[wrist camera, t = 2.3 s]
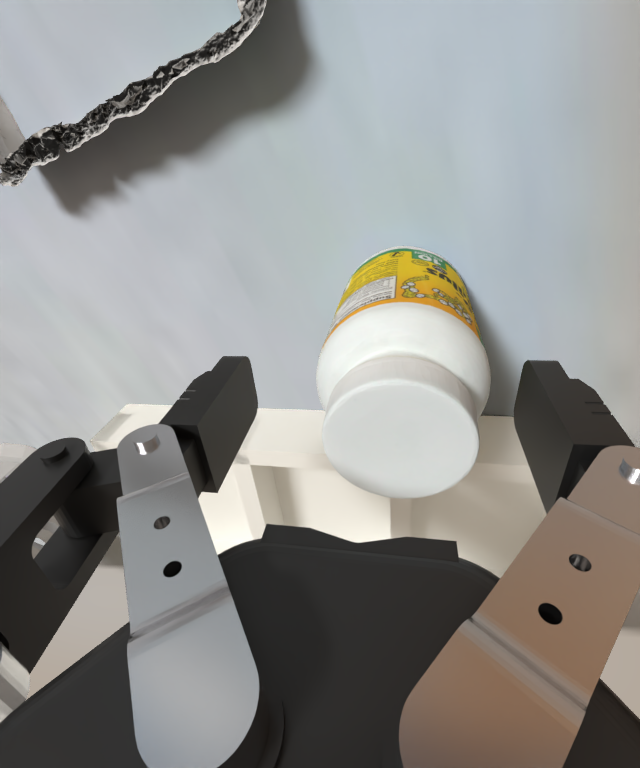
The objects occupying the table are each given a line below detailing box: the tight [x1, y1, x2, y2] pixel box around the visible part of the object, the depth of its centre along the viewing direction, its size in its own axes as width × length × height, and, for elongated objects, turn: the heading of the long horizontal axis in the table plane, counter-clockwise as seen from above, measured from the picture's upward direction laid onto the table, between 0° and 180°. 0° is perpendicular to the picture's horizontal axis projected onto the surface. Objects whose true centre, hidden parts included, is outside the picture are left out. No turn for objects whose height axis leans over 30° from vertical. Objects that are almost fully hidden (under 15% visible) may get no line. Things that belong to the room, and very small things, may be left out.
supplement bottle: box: [316, 246, 491, 499], centre depth 14 cm, size 5×5×10 cm
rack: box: [90, 404, 547, 578], centre depth 24 cm, size 25×12×4 cm, turn 96°
